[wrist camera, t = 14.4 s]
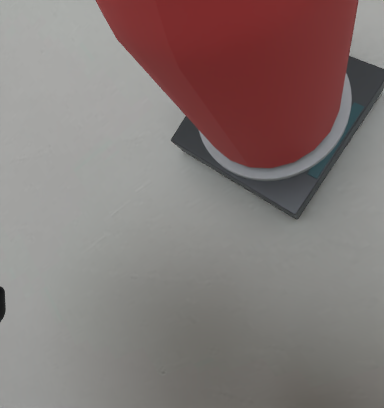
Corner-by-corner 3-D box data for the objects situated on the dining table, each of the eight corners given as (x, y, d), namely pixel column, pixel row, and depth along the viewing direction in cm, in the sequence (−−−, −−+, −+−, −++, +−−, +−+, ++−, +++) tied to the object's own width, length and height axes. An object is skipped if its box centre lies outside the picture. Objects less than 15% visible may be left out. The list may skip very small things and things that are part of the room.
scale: (382, 90, 18) (393, 65, 15) (297, 219, 18) (294, 214, 16) (253, 38, 21) (245, 10, 18) (182, 150, 21) (166, 137, 19)
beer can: (231, 193, 17) (72, 68, 6) (189, 85, 19) (4, -172, 8) (365, 135, 15) (505, -199, 4) (305, 22, 17) (289, -430, 6)
